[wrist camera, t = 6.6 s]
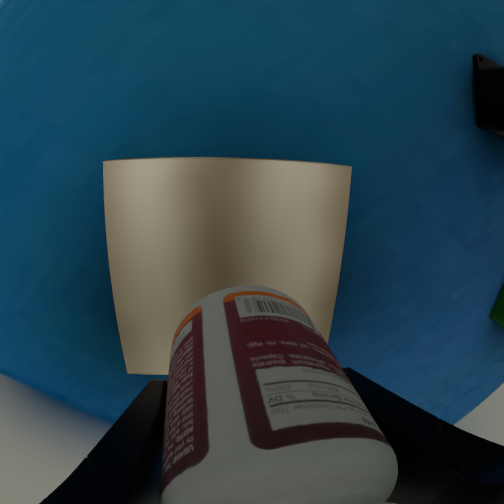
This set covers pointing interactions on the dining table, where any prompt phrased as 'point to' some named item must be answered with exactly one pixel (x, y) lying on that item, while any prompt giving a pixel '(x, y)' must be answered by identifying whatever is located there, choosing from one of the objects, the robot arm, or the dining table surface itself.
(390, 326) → the dining table surface
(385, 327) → the dining table surface
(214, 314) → the pill bottle
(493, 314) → the milk carton
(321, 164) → the birch block
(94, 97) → the dining table surface
